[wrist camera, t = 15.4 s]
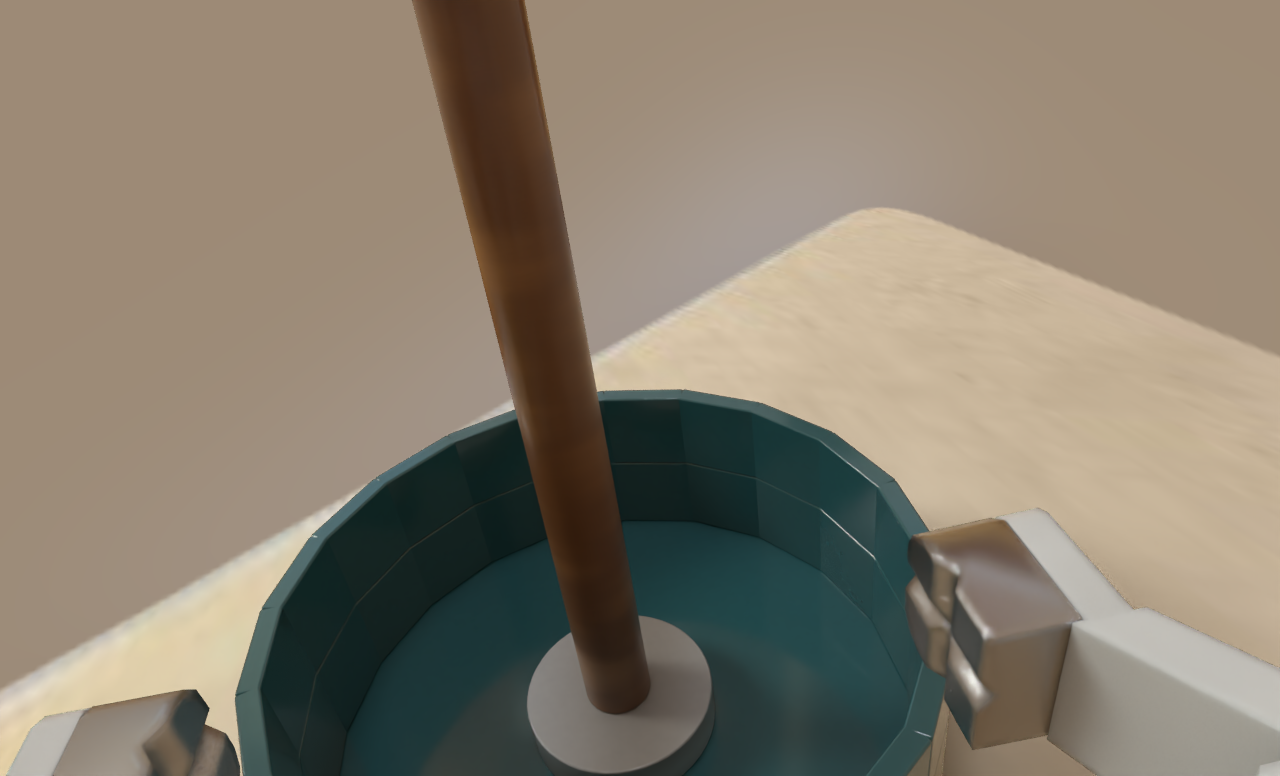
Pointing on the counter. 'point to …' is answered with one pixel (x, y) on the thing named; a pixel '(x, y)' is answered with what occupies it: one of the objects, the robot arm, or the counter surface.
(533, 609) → the bowl
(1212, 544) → the counter surface
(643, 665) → the wooden dowel stand
